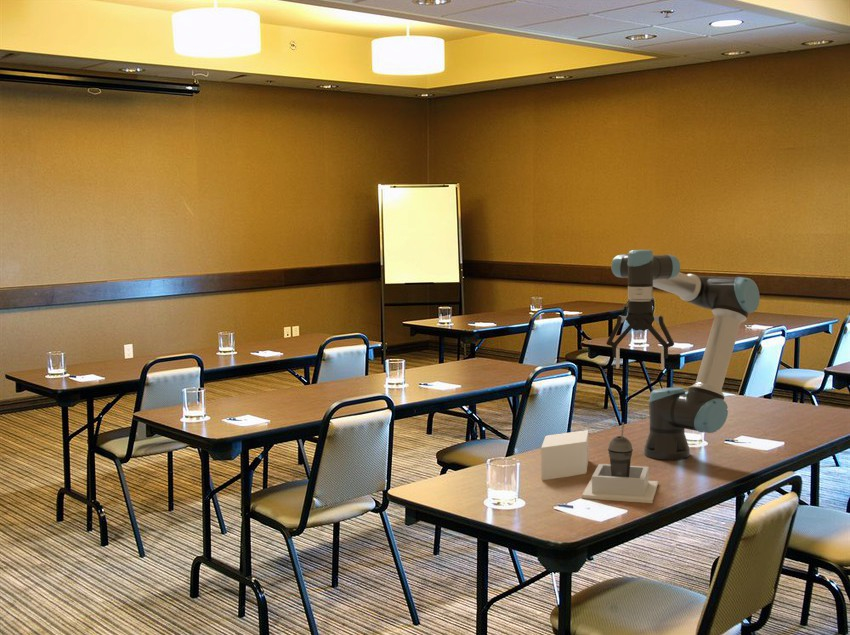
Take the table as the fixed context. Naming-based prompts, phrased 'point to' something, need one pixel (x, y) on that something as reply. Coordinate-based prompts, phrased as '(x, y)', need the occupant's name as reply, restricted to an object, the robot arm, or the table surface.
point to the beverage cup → (620, 455)
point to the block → (564, 455)
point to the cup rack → (621, 485)
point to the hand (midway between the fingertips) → (640, 368)
